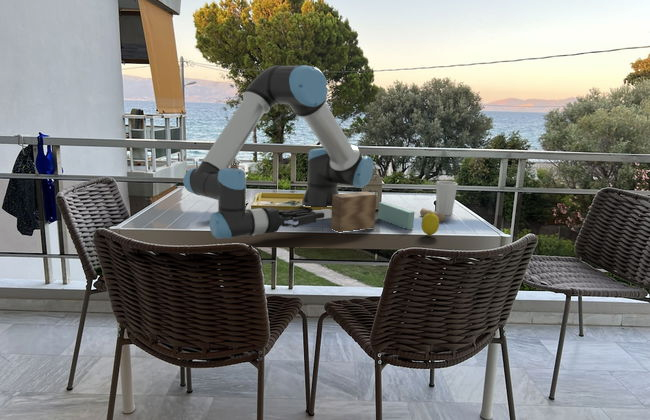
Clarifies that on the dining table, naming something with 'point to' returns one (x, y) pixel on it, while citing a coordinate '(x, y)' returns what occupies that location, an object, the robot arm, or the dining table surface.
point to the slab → (353, 211)
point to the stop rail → (396, 215)
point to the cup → (445, 197)
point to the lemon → (430, 224)
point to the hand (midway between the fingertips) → (330, 213)
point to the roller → (440, 216)
